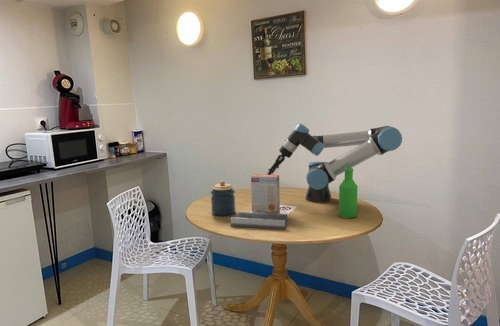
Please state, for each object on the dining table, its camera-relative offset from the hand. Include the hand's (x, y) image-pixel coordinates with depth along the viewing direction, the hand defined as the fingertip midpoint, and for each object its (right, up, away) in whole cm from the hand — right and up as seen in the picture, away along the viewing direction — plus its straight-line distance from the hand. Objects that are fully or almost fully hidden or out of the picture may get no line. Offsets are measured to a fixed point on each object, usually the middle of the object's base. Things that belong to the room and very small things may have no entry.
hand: (266, 178), depth 199 cm
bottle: (+40, -19, -23) cm, 50 cm away
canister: (-24, -18, -12) cm, 33 cm away
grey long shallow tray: (-5, -21, -31) cm, 38 cm away
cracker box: (-1, -18, -16) cm, 24 cm away
